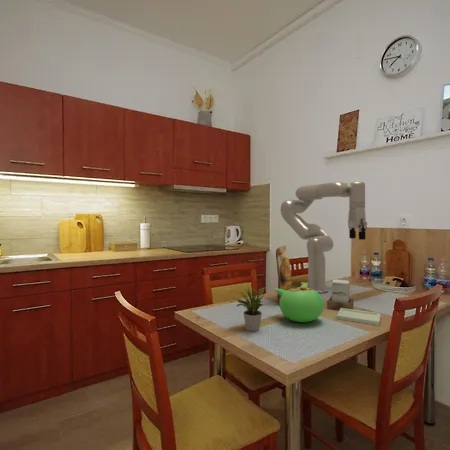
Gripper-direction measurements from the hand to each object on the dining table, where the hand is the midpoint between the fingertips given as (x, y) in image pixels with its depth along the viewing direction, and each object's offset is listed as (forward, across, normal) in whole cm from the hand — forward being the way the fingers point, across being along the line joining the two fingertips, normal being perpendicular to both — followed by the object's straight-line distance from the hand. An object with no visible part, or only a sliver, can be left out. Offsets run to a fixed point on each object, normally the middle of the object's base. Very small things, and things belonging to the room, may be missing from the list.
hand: (357, 238), depth 157 cm
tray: (+32, +28, -14) cm, 45 cm away
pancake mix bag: (+32, +1, -39) cm, 50 cm away
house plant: (+32, +36, -61) cm, 77 cm away
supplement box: (+32, +13, -15) cm, 37 cm away
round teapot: (+32, +29, -40) cm, 59 cm away
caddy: (+32, +13, -15) cm, 37 cm away
